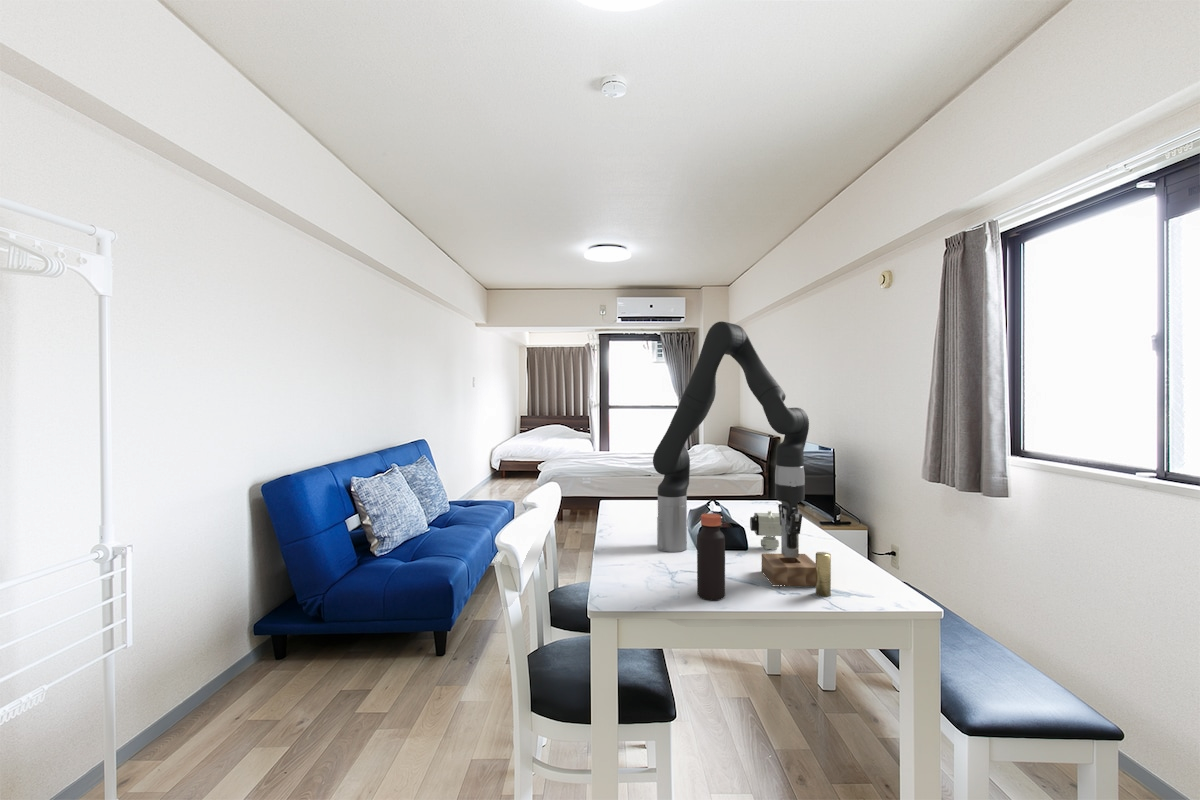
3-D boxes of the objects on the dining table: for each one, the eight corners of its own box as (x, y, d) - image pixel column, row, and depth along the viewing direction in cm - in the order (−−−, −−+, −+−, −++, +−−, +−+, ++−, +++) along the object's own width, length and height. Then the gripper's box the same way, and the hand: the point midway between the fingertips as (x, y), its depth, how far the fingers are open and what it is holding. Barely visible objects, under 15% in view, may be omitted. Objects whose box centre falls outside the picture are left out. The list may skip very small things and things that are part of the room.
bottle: (691, 595, 139) (691, 514, 139) (709, 588, 143) (709, 511, 143) (712, 603, 134) (712, 520, 133) (730, 596, 138) (730, 515, 137)
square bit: (785, 557, 149) (785, 520, 148) (781, 553, 152) (781, 517, 152) (798, 557, 148) (798, 520, 148) (794, 553, 152) (794, 517, 152)
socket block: (773, 586, 145) (773, 567, 144) (761, 571, 157) (761, 553, 156) (820, 586, 144) (820, 567, 144) (805, 571, 156) (805, 553, 156)
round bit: (818, 596, 137) (818, 556, 137) (813, 591, 141) (813, 552, 141) (832, 596, 137) (832, 556, 137) (827, 591, 141) (827, 552, 141)
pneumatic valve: (749, 545, 182) (749, 509, 181) (787, 547, 180) (787, 510, 180) (752, 550, 176) (752, 512, 176) (790, 552, 175) (790, 513, 174)
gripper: (768, 478, 157) (768, 539, 157) (783, 486, 143) (783, 553, 143) (795, 478, 157) (795, 539, 157) (812, 486, 143) (812, 554, 143)
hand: (789, 545), depth 150 cm, fingers closed on square bit, 3 cm apart
